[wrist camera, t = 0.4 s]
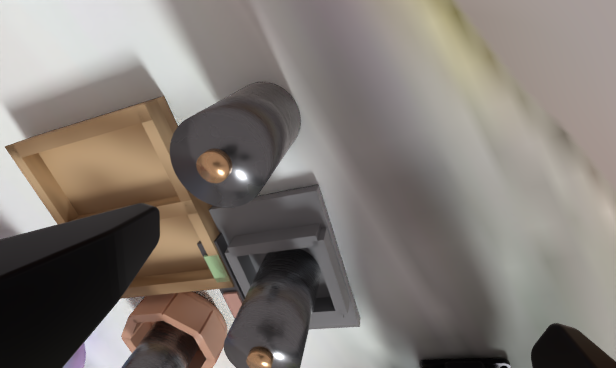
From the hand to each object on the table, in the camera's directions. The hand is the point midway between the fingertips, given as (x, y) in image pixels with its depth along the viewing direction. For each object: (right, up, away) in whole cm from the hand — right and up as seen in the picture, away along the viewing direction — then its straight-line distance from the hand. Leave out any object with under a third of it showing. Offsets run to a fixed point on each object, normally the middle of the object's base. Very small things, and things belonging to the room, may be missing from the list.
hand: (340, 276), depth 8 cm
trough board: (-14, 0, +18) cm, 23 cm away
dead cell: (-12, -11, +23) cm, 28 cm away
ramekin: (-12, -10, +23) cm, 28 cm away
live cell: (-2, -4, +17) cm, 18 cm away
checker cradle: (-3, -4, +18) cm, 19 cm away
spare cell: (-3, +6, +13) cm, 15 cm away
